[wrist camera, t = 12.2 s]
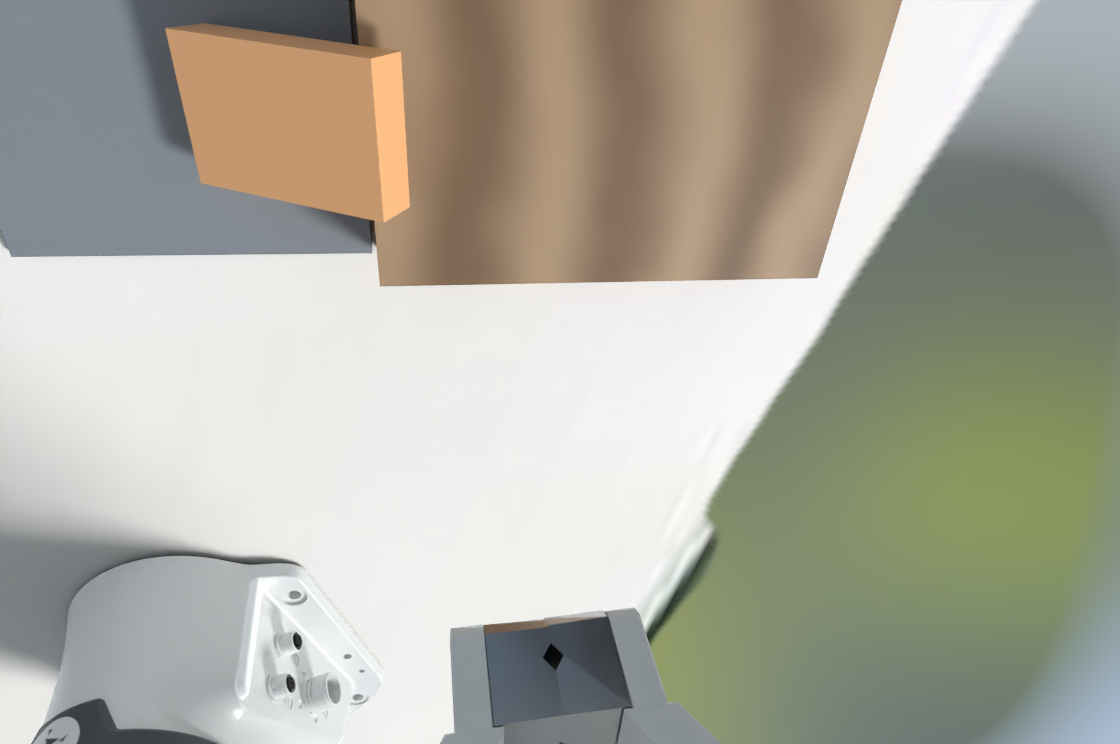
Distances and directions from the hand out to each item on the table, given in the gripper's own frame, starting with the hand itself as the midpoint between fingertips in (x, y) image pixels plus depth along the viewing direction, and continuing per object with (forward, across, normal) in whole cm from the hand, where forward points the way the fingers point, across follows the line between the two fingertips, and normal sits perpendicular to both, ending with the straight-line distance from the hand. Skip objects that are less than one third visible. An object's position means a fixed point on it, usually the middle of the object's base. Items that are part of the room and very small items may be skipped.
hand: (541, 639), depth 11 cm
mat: (+26, +12, -2) cm, 29 cm away
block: (+24, +6, -2) cm, 25 cm away
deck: (+26, -7, -2) cm, 28 cm away
